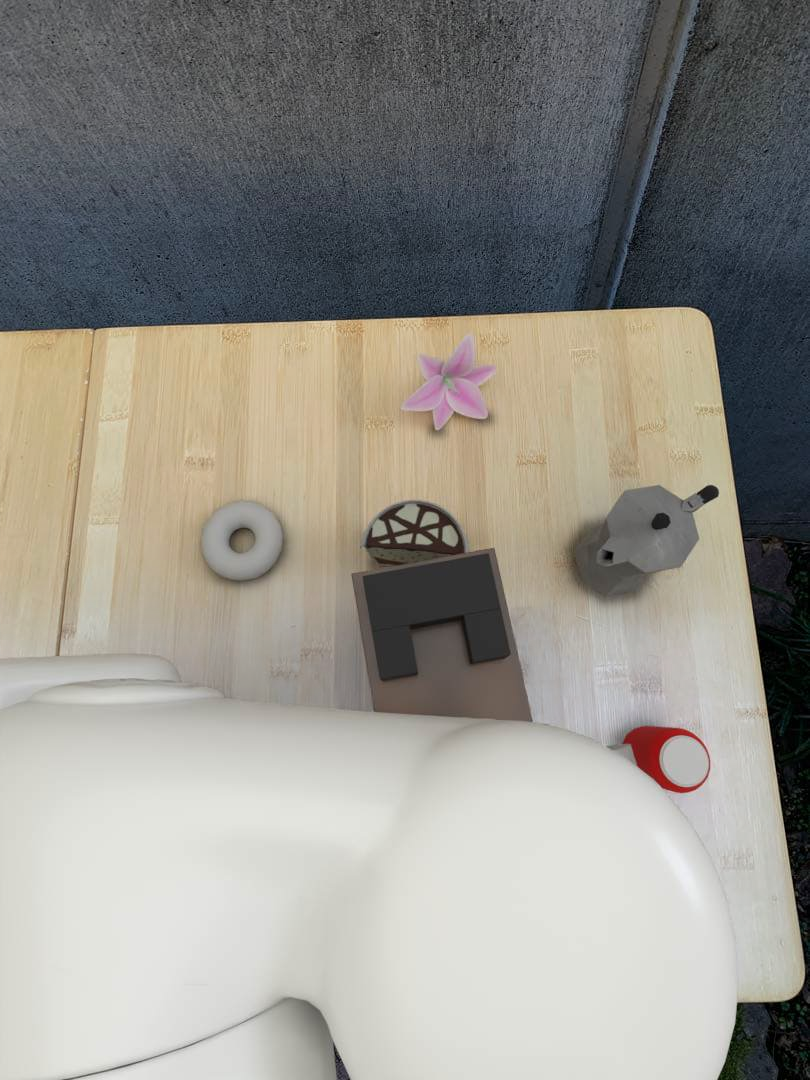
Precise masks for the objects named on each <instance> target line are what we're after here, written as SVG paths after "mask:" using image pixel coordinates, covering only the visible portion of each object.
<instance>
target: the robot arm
mask: <svg viewBox="0 0 810 1080" xmlns="http://www.w3.org/2000/svg"><path fill="white" fill-rule="evenodd" d="M181 679H182V678H181V675H180V672H179V670H178V668H177V667H176V666H175V664H174V663H173V662H171V660H169V659H168V658H166V657H164V656H160V655H156V654H149V653H135V652H134V653H131V652H130V653H126V652H125V653H99V654H97V653H96V654H76V655H75V654H73V655H72V654H71V655H54V656H53V655H52V656H49V655H48V656H25V657H1V658H0V1080H338V1076H337V1066H336V1058H335V1048H336V1051H337V1053H338V1054H339V1057H340V1060H341V1061H342V1063H343V1066H344V1068H345V1070H346V1072H347V1074H348V1077H349V1079H350V1080H718V1079H719V1076H720V1074H721V1073H722V1070H723V1068H724V1065H725V1063H726V1060H727V1056H728V1052H729V1049H730V1044H731V1040H732V1037H733V1033H734V1029H735V1025H736V1020H737V1019H736V1018H737V1008H738V1007H737V1006H738V996H739V986H740V977H739V964H738V948H737V939H736V933H735V928H734V925H733V921H732V920H733V919H732V915H731V910H730V907H729V902H728V898H727V893H726V891H725V888H724V887H723V886H724V885H723V884H722V881H721V879H720V876H719V874H718V872H717V869H716V866H715V864H714V862H713V858H712V856H711V855H710V853H709V852H708V849H707V848H706V846H705V844H704V843H703V841H702V840H701V838H700V836H699V834H698V832H697V831H696V829H695V828H694V826H693V824H692V822H691V821H690V820H689V819H688V817H687V816H686V815H685V813H684V812H683V810H681V808H680V807H679V806H678V804H677V803H676V801H675V800H674V799H673V798H672V797H671V796H670V795H669V794H668V793H667V791H666V790H665V789H663V788H662V787H661V786H660V785H659V784H658V783H657V782H656V781H654V780H653V779H652V778H651V777H650V776H648V775H647V774H646V773H645V772H643V771H642V770H641V769H640V768H638V767H637V763H636V760H635V757H634V753H633V750H632V747H631V744H612V745H611V744H610V745H604V744H602V743H601V742H598V741H597V740H595V739H593V738H591V737H588V736H586V735H583V734H580V733H578V732H577V733H576V732H574V731H572V730H568V729H565V728H562V727H558V726H555V725H551V724H545V723H542V722H535V721H533V722H527V721H512V720H499V719H483V718H467V717H462V718H460V717H444V716H429V715H413V714H398V713H382V712H374V711H366V710H355V709H354V710H352V709H342V708H333V707H323V706H311V705H300V704H291V703H290V704H289V703H280V702H269V701H259V700H249V699H248V700H247V699H238V698H236V699H235V698H227V697H226V695H224V694H223V693H221V691H219V690H216V689H214V688H211V687H209V686H204V685H201V684H197V683H194V682H193V683H192V682H182V680H181ZM334 1047H335V1048H334Z"/></svg>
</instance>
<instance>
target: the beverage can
mask: <svg viewBox="0 0 810 1080" xmlns="http://www.w3.org/2000/svg"><path fill="white" fill-rule="evenodd" d="M622 744H631V747H632V750H633V753H634V757H635V760H636V763H637V767H638V768H640V769H641V770H642V771H643V772H645V773H646V774H647V775H648V776H650V777H651V778H652V779H653V780H654V781H656V782H657V783H658V784H659V785H660V786H661V787H662V788H663V790H665V791H669V792H672V793H676V794H686V793H691V792H694V791H696V790H698V789H699V788H700V787H702V786H703V784H705V782H706V781H707V779H708V777H709V775H710V771H711V757H710V754H709V751H708V748H707V746H706V745H705V744H704V742H703V741H702V740H701V739H700V737H699V736H698V735H696V734H695V733H694V732H692V731H690V730H688V729H685V728H682V727H670V726H656V725H642V726H638V727H635V728H633V729H631V730H630V731H629V732H628V733H627V734H626V735H625V737H624V738H623V740H622Z"/></svg>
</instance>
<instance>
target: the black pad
mask: <svg viewBox="0 0 810 1080" xmlns="http://www.w3.org/2000/svg"><path fill="white" fill-rule="evenodd" d="M363 583H364V589H365V595H366V600H367V606H368V612H369V618H370V624H371V630H372V636H373V642H374V648H375V653H376V659H377V665H378V671H379V677H380V680H382V681H386V680H391V679H397V678H402V677H407V676H413V675H418V669H417V664H416V658H415V653H414V647H413V642H412V636H411V631H410V629H415V628H421V627H426V626H431V625H437V624H442V623H448V622H453V621H458V620H461V621H462V626H463V631H464V636H465V641H466V646H467V651H468V656H469V661H470V664H477V663H482V662H487V661H493V660H498V659H503V658H506V657H508V656H510V655H511V652H510V648H509V643H508V639H507V634H506V629H505V625H504V620H503V616H502V611H501V607H500V602H499V598H498V593H497V588H496V584H495V579H494V575H493V570H492V566H491V561H490V556H489V553H486V554H480V555H475V556H469V557H464V558H459V559H453V560H448V561H442V562H437V563H431V564H426V565H420V566H415V567H409V568H404V569H398V570H393V571H387V572H382V573H376V574H371V575H365V576H363Z"/></svg>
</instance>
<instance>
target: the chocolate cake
mask: <svg viewBox="0 0 810 1080" xmlns="http://www.w3.org/2000/svg"><path fill="white" fill-rule="evenodd" d="M363 547H364V549H365V551H366V552H367V554H369V556H370V557H371V558H372V560H373V562H374V563H375V565H377V566H383V567H384V566H385V567H390V566H396V565H401V564H407V563H412V562H418V561H423V560H429V559H434V558H440V557H445V556H451V555H456V554H462V553H467V552H471V548H470V542H469V539H468V536H467V534H466V532H465V530H464V528H463V526H462V524H461V523H460V522H459V520H458V519H457V517H455V516H454V514H453V513H451V512H450V511H449V510H447V509H446V508H444V507H443V506H441V505H440V504H438V503H436V502H435V503H434V502H431V501H429V500H423V499H406V500H401V501H397V502H395V503H392V504H390V505H387V506H386V507H385V508H383V509H382V510H380V511H379V512H378V513H377V514H376V515H375V516H374V517H373V518H372V519H371V521H370V522H369V523H368V525H367V527H366V529H365V531H363V535H362V537H361V541H360V545H359V549H362V548H363Z"/></svg>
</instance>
